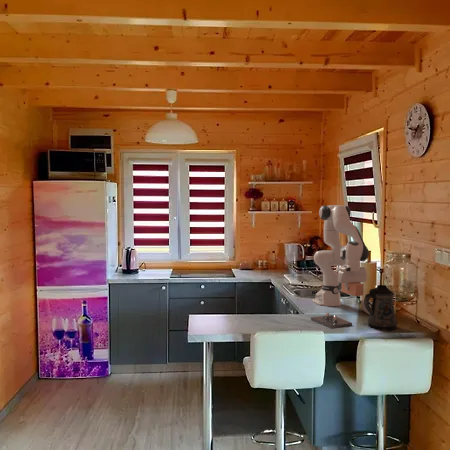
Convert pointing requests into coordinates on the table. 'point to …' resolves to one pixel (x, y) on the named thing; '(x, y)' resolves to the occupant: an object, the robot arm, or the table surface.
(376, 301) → the beer stein
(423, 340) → the table surface
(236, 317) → the table surface
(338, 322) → the base plate
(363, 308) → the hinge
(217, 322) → the table surface
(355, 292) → the block
